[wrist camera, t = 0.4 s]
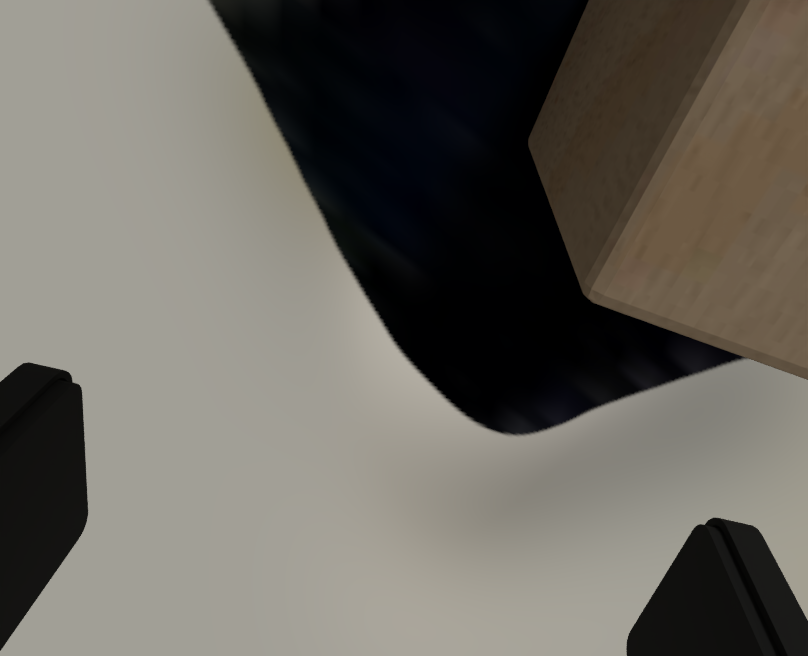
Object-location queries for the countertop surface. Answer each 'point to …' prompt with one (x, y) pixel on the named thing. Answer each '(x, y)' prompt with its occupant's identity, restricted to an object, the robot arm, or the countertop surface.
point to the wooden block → (687, 168)
